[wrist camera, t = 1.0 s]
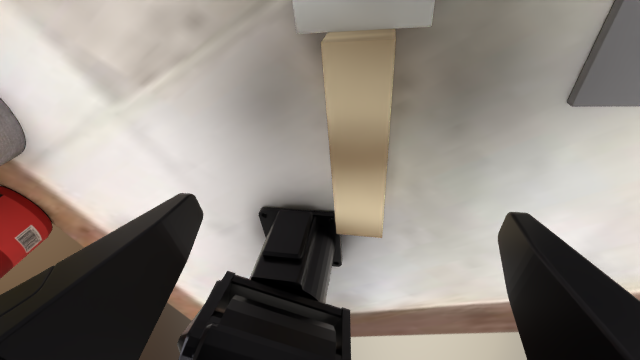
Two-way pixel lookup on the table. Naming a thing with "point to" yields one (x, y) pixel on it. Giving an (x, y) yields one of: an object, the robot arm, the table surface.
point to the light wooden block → (359, 97)
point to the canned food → (19, 228)
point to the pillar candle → (9, 135)
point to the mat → (613, 61)
